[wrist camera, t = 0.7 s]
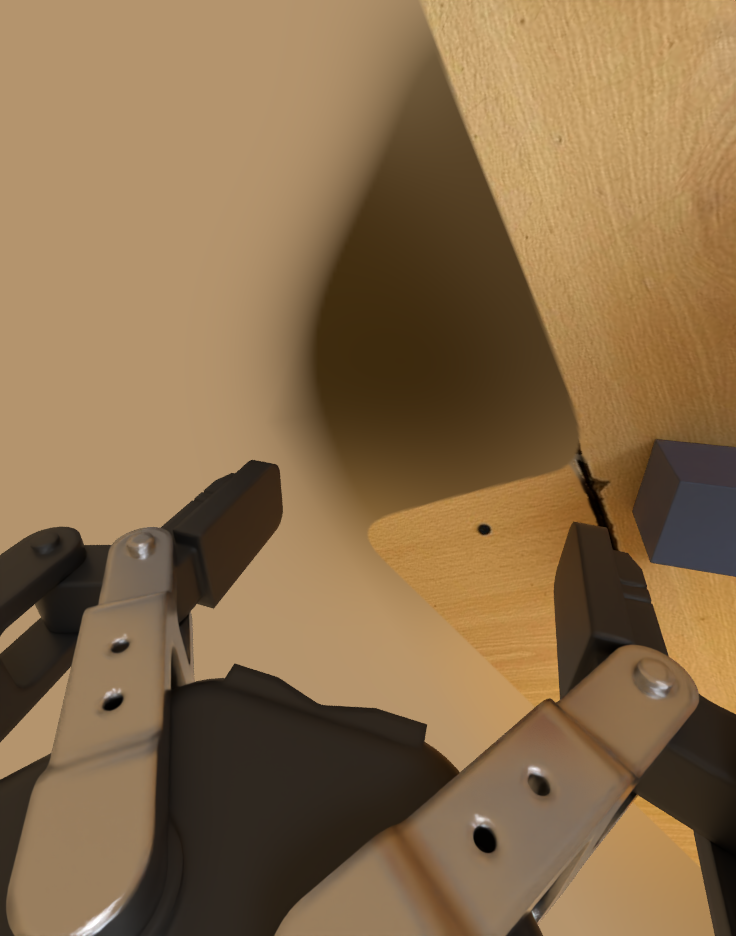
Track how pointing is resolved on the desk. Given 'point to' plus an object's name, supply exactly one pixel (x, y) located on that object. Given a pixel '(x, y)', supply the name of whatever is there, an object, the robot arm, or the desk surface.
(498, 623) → the desk surface
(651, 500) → the cube
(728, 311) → the desk surface
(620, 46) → the desk surface
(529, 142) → the desk surface
